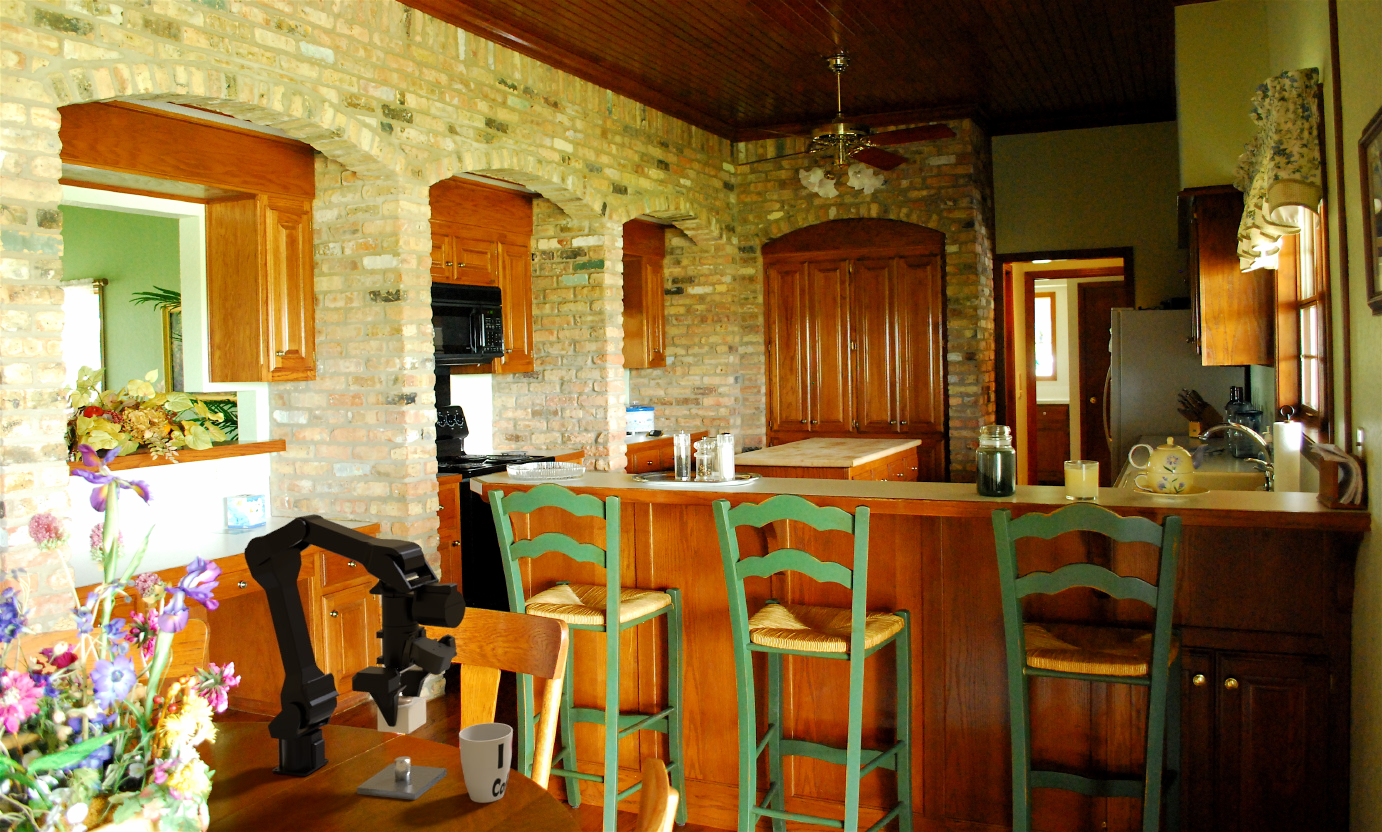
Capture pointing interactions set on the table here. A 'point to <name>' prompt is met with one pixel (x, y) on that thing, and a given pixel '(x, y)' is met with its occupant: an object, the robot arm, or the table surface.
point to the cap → (405, 715)
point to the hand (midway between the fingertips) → (401, 720)
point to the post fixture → (402, 780)
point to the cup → (486, 760)
